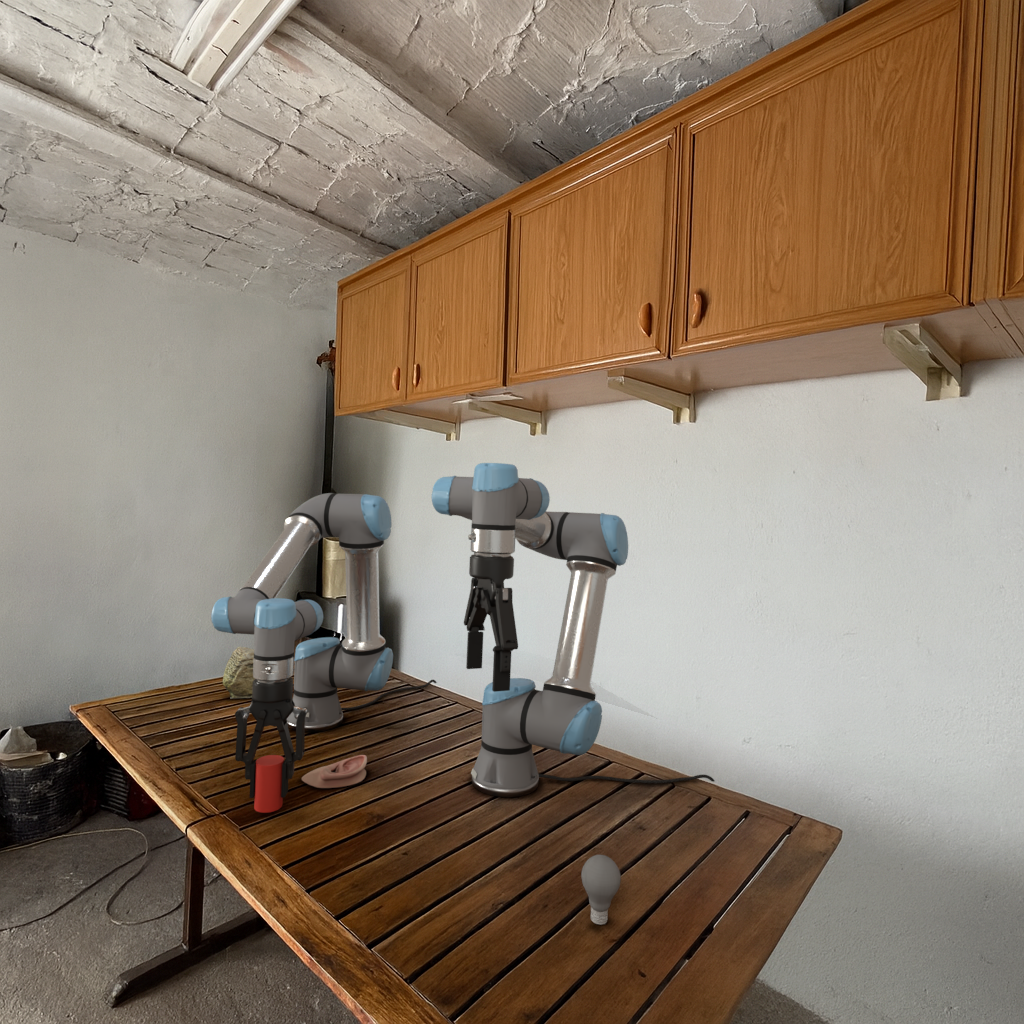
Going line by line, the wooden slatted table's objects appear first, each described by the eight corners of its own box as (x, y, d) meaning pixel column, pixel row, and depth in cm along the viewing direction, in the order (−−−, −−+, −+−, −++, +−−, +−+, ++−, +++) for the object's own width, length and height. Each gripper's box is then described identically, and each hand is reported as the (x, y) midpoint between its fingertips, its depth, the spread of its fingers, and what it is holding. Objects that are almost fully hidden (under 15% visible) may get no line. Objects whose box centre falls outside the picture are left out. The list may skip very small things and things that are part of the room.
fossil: (218, 695, 195) (220, 647, 195) (278, 685, 208) (279, 640, 207) (228, 703, 189) (230, 653, 188) (289, 692, 201) (290, 645, 201)
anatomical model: (294, 766, 138) (320, 747, 150) (294, 784, 138) (320, 763, 150) (351, 774, 136) (373, 754, 147) (350, 792, 136) (372, 770, 147)
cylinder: (257, 815, 122) (258, 767, 122) (251, 803, 126) (253, 757, 126) (285, 808, 125) (287, 762, 125) (279, 797, 129) (280, 753, 129)
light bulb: (576, 909, 100) (578, 846, 100) (613, 909, 101) (616, 846, 100) (583, 935, 94) (586, 869, 94) (622, 935, 95) (626, 868, 94)
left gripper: (218, 683, 120) (214, 804, 121) (317, 683, 123) (313, 802, 123) (230, 672, 128) (226, 786, 128) (323, 673, 130) (319, 785, 130)
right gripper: (450, 547, 118) (445, 661, 118) (497, 562, 94) (491, 703, 95) (488, 548, 120) (483, 659, 121) (542, 562, 97) (536, 699, 98)
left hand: (269, 794), depth 126 cm, fingers closed on cylinder, 5 cm apart
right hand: (486, 678), depth 108 cm, fingers open, 13 cm apart
